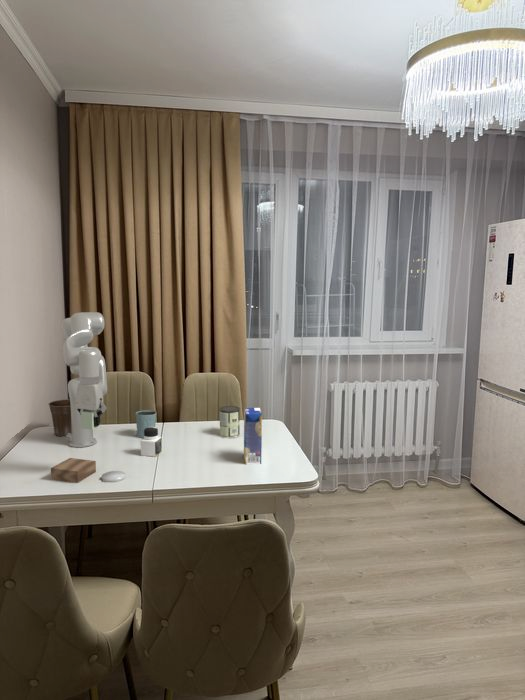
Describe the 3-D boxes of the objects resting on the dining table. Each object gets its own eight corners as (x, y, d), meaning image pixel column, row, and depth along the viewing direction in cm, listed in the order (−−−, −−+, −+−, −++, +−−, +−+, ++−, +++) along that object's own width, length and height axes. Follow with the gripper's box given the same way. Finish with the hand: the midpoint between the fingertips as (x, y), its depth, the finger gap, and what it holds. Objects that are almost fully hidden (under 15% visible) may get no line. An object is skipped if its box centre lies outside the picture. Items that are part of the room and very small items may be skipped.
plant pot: (47, 431, 263) (46, 400, 261) (80, 427, 271) (79, 397, 269) (52, 440, 249) (51, 407, 247) (87, 435, 257) (86, 404, 255)
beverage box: (258, 455, 231) (259, 407, 228) (261, 464, 220) (261, 414, 217) (243, 455, 230) (244, 407, 227) (245, 464, 219) (245, 414, 216)
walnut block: (51, 480, 200) (50, 468, 200) (70, 469, 212) (70, 457, 211) (77, 483, 197) (77, 471, 196) (96, 472, 209) (95, 460, 208)
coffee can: (227, 431, 267) (227, 404, 265) (243, 434, 262) (243, 407, 260) (215, 436, 258) (215, 408, 256) (232, 439, 253) (232, 411, 251)
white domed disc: (97, 481, 200) (96, 477, 200) (110, 473, 208) (110, 469, 208) (117, 484, 197) (116, 480, 197) (130, 476, 205) (129, 472, 205)
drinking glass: (132, 435, 257) (131, 412, 255) (148, 431, 265) (148, 409, 263) (144, 440, 250) (143, 416, 249) (160, 435, 258) (160, 412, 256)
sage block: (81, 428, 205) (81, 411, 204) (89, 425, 210) (89, 408, 209) (92, 429, 204) (91, 412, 203) (100, 426, 208) (99, 409, 207)
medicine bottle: (155, 457, 227) (155, 430, 225) (140, 455, 228) (140, 429, 227) (161, 451, 234) (161, 426, 232) (147, 450, 235) (146, 425, 234)
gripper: (65, 381, 203) (67, 425, 206) (101, 384, 198) (103, 429, 200) (77, 377, 210) (79, 420, 213) (113, 380, 205) (114, 424, 207)
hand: (91, 424), depth 207 cm, fingers closed on sage block, 5 cm apart
